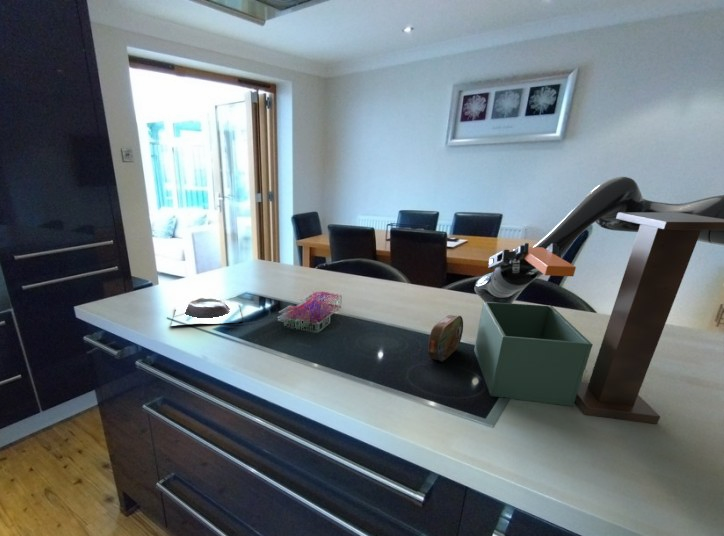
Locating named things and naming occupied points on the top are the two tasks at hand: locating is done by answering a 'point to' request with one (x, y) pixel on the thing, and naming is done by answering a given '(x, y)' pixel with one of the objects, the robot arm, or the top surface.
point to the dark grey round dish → (207, 308)
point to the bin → (530, 353)
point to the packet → (549, 262)
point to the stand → (641, 313)
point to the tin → (445, 337)
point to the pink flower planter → (311, 310)
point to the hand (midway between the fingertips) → (540, 248)
